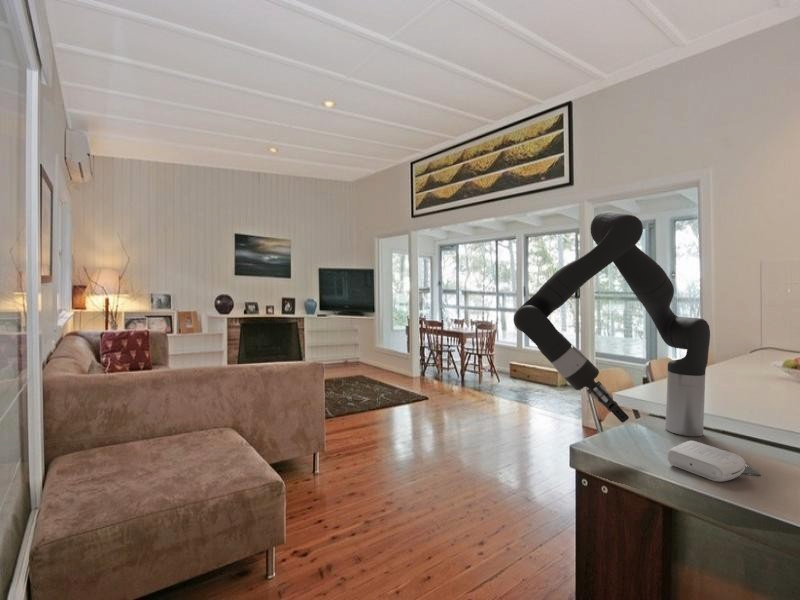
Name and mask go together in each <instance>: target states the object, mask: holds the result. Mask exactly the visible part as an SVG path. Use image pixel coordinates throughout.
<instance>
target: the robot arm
mask: <svg viewBox="0 0 800 600" xmlns="http://www.w3.org/2000/svg"><path fill="white" fill-rule="evenodd" d="M590 223H591V224H590V236H591V237H592V241H594V243H595V244H596V246H594V247H593V248H592V249H591V250H590V251H588V252H587V253H586V254H584V255H582V256H580V257H579V258H576V259H575V260H573V261H571V262H569V263H567V264H566V265H565V266H563V267H561V268H560V269H558V270H557V271H556V272H554V273H553V275H552V276H551V277H550V278H549V279H548V280H546V282H545V283H544V284H542V285H541V287H540V288H539V289H538V290H537V291H536V293H535V294H534V295H532V296H531V297H530V298H529V299H528V300H527V301H526V302H525V303H523V304H522V305H521V306H520V307H519V308H518V309H517V310H516V311H515V312H514V315H513V324H514V326H515V328H516V329H517V330H518V331H520V332H522V333H523V334H524V335H525V336H527V337H528V339H529V340H530V341H532V343H534V344H535V346H537V349H538V350H539V352H540V353H541V354H542V355H543V356H544V357H545V358H546V360H548V362H550V363H551V365H553V367H554V368H555V370H556V371H557V372H558V373H559V374H560V376H562V377H563V378H564V380H565V381H567V383H568V384H569V385H570V386H571V387H572V388H573V389H574V390H575V391H581V390H582V389H584V388H587V390H586V392H587V394H589V395H590V396H591V397H592V398H593V399H595V400H596V402H598V403H599V404H600V405H601V406H602V407H605V408H606V409H607V410H608V412H610V413H612V414H613V415H614V416H615V417H616V418H617V419H618V420H619V421H620V422H621V423H625V422H626V421H628V420H629V418H630V416H629V415H628V413H626V412H625V411H624V410H623V409H622V408H621V407H620V406H619V403H618V402H617V401H615V400H614V397H613V395H612V394H611V393H610V392H609V391H608V390H607V389H606V387H605V386H604V385H603V383H602V382H601V381H599V380H598V381H597V382H596V381H595V379H596V378H598V376H599V373H600V371H599V369H598V368H597V367H596V366H595V365H594V364H593V362H591V361H590V360H589V359H588V358H587V356H585V354H583V352H582V351H581V350H579V349H578V348H577V347H576V346H575V345H574V344H573V343H572V342H570V341H569V340H568V338H566V337H565V335H563V333H561V332H560V331H559V330H558V329H557V328H556V327H555V326H554V323H552V321H551V320H550V318H548V317H549V316H550V315H551V314H552V313H554V312H555V311H556V310H558V309H559V308H561V307H562V306H563V305H564V304H565V303H566V302H567V301H568V300H569V299H570V298H571V297H572V296H574V294H575V293H576V292H578V290H580V288H582V287H583V286H584V285H585V284H586V283H587V282H588V281H589V280H591V279H592V278H593V277H594V276H596V275H597V274H598V273H600V272H601V271H602V270H604V269H605V268H607V267H608V266H609V265H611V264H612V263H613V264H614V265H615V267H616V269H617V270H618V272H619V273H620V275H621V277H622V278H623V279H624V281H625V282H626V283H627V285H628V286H629V288H630V290H631V291H632V292H633V294H634V295H635V297H636V298H637V299H638V300H639V302H640V303H641V305H642V306H643V307H644V309H645V310H646V312H647V314H648V316H649V317H650V318H651V320H652V322H653V324H654V326H655V328H656V330H657V331H658V333H659V335H660V337H661V339H662V340H663V342H664V343H665V344H666V345H667V346H668V347H671V348H674V349H681V350H686V354H685V356H684V357H682V358H679V359H673V360H670V361H668V362H667V372H666V373H667V374H666V375H667V376H666V378H667V379H666V382H667V384H666V403H665V404H666V407H665V431H668V432H670V433H673V434H677V435H680V436H685V437H702V436H704V420H705V391H706V370H707V368H708V367H707V365H708V361H709V350H710V343H711V342H710V340H711V329H710V325H709V323H708V322H707V320H705V319H704V318H697V317H696V318H695V317H686V316H685V317H684V316H683V317H682V316H677V315H676V314H675V313H674V312H673V310H672V309H671V304H672V301H673V298H674V294H675V287H674V285H673V282H672V281H671V278H669V276H668V274H667V273H666V272H665V270H664V269H663V268H662V266H661V265H659V264H658V263H657V262H656V261H655V260H654V258H652V257H650V256H649V255H648V254H647V253H645V252H644V251H643V250H642V249H640V248H639V247H638V246H637V243H638V242H640V239H641V238H642V235H643V232H644V231H643V230H644V226H643V223H642V220H640V218H639V217H637V216H636V215H633V214H630V213H624V212H619V211H613V210H612V211H610V210H609V211H603V212H602V211H601V212H599V213H598V214H597V215H595V216H594V218H593V219H592V221H591V222H590Z"/></svg>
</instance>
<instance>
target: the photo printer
mask: <svg viewBox="0 0 800 600" xmlns="http://www.w3.org/2000/svg"><path fill="white" fill-rule="evenodd" d="M721 449H722V448H719V447H716V446H715V447H714V446H712V445H710V444H705V443H702V442H699V441H696V440H687V441H685V442H682V443H680V444H677V445H676V446H673V447H671V448H670V449H669V450H668V452H667V453H668V454H667V461H668V463H669V464H670V465H672V466H673V467H675V468H678V469H681V470H684V471H686V472H689V473H692V474H694V475H697V476H700V477H703V478H704V479H708V480H710V481H713V482H727V481H732V480H734V479H736V478H737V477H739V476H740V475H743V474H742V473H743V471H744V470H745V463H746V461H745V459H744V458H743V457H742V456H740V455H739V454H738V453H733V452H731V451H730V452H728V451H729V450H728V451H725V450H721Z"/></svg>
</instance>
